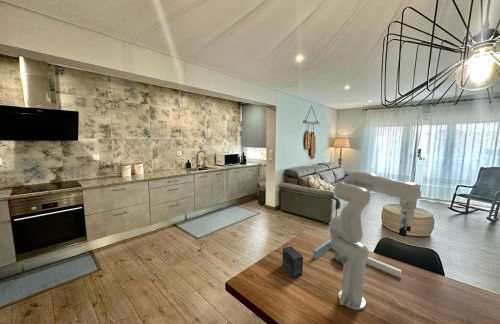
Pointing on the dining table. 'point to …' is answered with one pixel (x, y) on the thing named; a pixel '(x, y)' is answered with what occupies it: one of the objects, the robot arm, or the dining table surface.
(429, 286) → the dining table surface
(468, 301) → the dining table surface
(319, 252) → the fence
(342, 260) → the grey rock
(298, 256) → the small box
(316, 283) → the dining table surface
